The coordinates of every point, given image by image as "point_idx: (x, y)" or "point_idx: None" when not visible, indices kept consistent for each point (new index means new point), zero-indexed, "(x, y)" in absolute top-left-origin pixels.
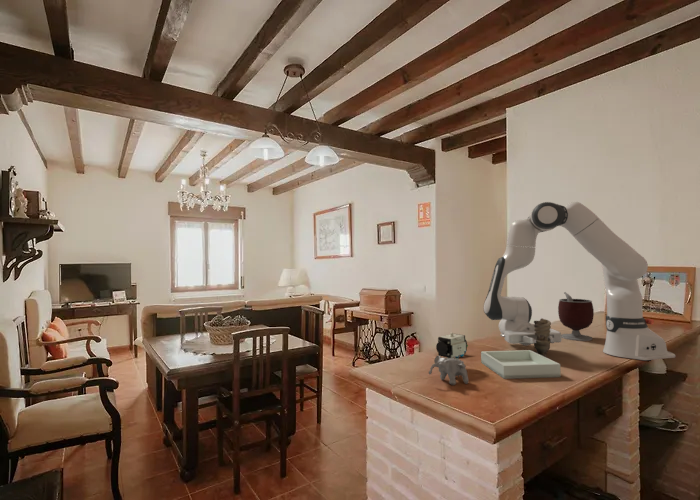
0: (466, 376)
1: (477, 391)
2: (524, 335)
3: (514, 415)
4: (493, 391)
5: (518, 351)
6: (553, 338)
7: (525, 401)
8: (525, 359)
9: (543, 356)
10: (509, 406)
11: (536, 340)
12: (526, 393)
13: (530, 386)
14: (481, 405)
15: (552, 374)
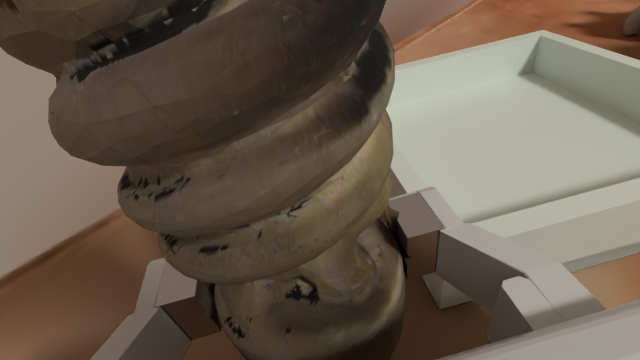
0: (635, 10)
1: (568, 23)
2: (583, 318)
3: (469, 4)
4: (531, 31)
5: (548, 203)
6: (156, 259)
7: (454, 26)
8: None
9: None
10: (481, 12)
11: (377, 228)
12: (453, 42)
13: None
14: (531, 3)
15: None
